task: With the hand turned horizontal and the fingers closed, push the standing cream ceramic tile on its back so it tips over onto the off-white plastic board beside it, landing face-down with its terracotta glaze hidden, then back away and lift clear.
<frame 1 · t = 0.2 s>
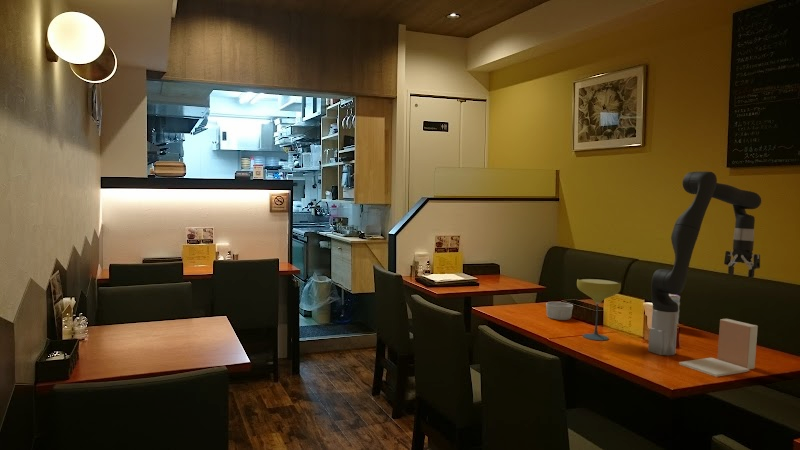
hand: (740, 276, 246), 29 cm above the table, tool pointing down, fingers open, 8 cm apart
candy box: (668, 327, 273), on the table
ramekin: (558, 318, 287), on the table
cutting board: (713, 367, 211), on the table
cocktail glass: (595, 337, 249), on the table
tile: (735, 364, 216), on the table
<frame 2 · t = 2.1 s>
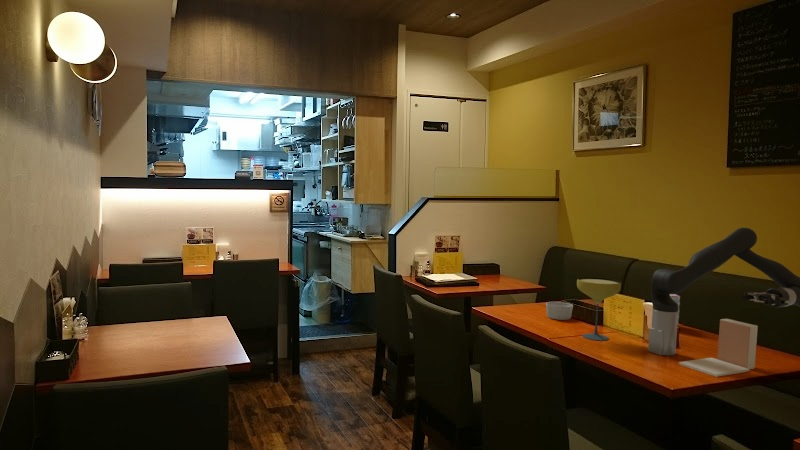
hand: (754, 299, 218), 24 cm above the table, tool horizontal, fingers open, 8 cm apart
nothing on the table moved.
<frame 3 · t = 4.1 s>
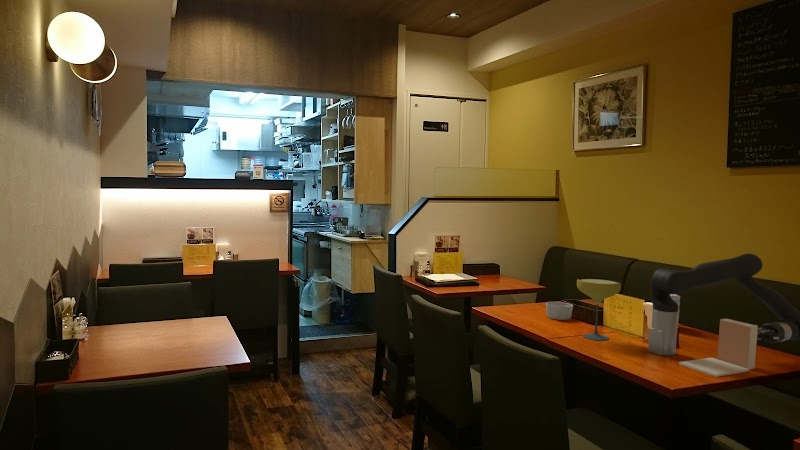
hand: (747, 336, 218), 10 cm above the table, tool horizontal, fingers closed
nothing on the table moved.
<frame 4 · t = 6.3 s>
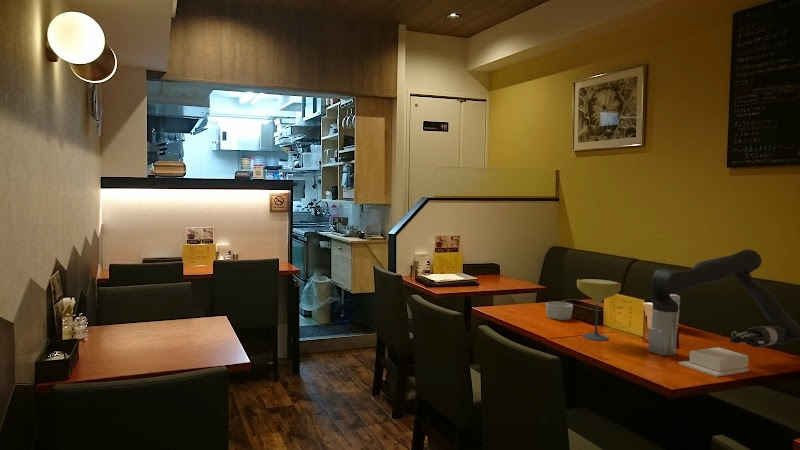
hand: (732, 340, 214), 10 cm above the table, tool horizontal, fingers closed
tile: (732, 356, 215), point 3 cm above the table, tilted 90°, touching cutting board
everything else where it was.
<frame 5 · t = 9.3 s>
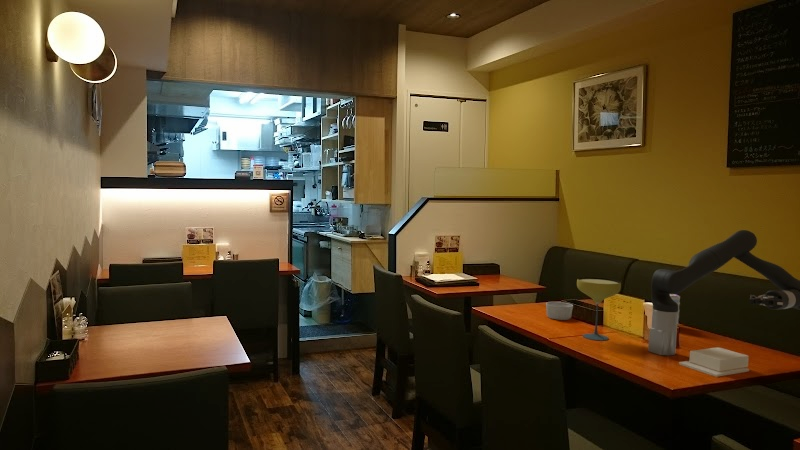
hand: (751, 301, 218), 24 cm above the table, tool horizontal, fingers closed
nothing on the table moved.
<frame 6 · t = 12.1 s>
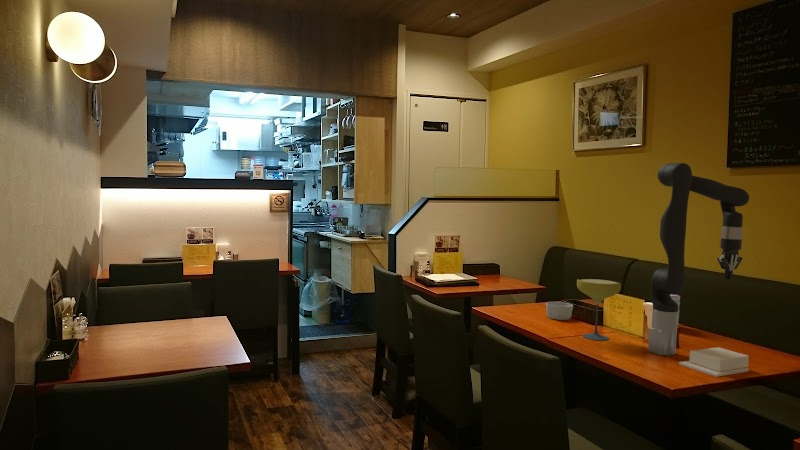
hand: (728, 279, 236), 29 cm above the table, tool pointing down, fingers closed
nothing on the table moved.
at the end: tile tilted 90°; tile touching cutting board; tile inside the target area (1.1 cm from its centre), point 3.1 cm above the table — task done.
